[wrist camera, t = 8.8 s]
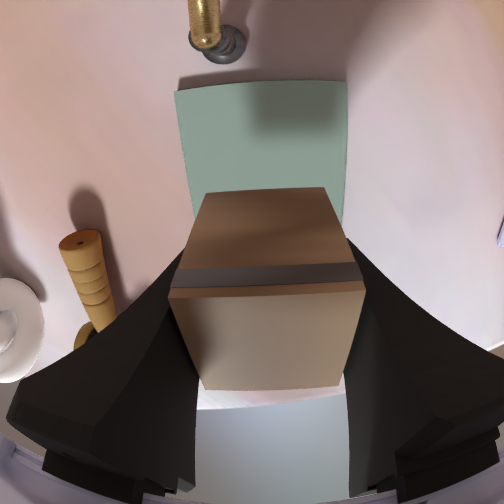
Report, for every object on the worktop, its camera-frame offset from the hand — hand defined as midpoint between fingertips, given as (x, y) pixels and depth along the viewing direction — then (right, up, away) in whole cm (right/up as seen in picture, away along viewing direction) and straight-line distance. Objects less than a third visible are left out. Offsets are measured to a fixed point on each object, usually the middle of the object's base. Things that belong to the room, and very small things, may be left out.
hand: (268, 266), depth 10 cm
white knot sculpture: (-26, -3, +12) cm, 28 cm away
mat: (0, +4, +6) cm, 7 cm away
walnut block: (0, +1, +1) cm, 1 cm away
